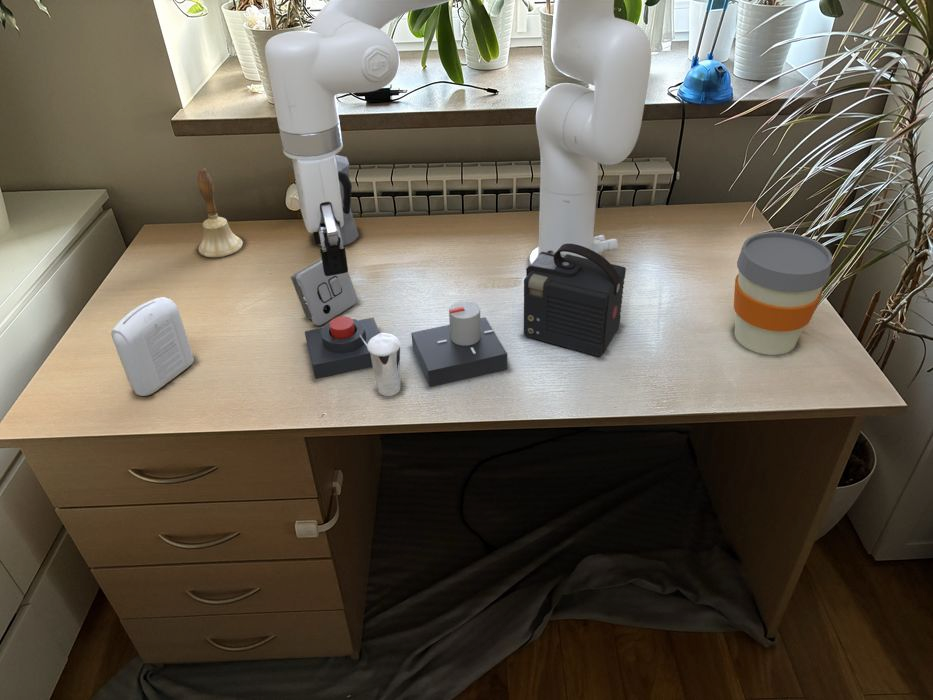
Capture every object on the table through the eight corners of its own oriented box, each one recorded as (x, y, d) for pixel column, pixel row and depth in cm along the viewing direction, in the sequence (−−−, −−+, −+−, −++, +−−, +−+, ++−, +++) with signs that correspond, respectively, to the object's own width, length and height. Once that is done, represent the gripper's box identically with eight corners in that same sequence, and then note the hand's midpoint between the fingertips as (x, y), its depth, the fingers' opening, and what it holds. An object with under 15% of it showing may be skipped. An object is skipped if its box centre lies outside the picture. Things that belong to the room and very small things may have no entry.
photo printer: (179, 353, 117) (157, 286, 109) (199, 361, 115) (178, 293, 108) (127, 392, 110) (99, 323, 102) (148, 400, 108) (121, 331, 100)
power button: (352, 323, 114) (351, 314, 113) (357, 336, 112) (355, 327, 111) (329, 328, 114) (327, 318, 113) (333, 341, 111) (331, 332, 110)
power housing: (375, 330, 120) (372, 307, 117) (387, 363, 113) (384, 339, 110) (307, 344, 117) (302, 321, 115) (315, 379, 111) (310, 355, 108)
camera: (544, 302, 125) (547, 221, 116) (624, 322, 119) (634, 239, 110) (517, 337, 117) (517, 253, 108) (602, 360, 112) (610, 274, 103)
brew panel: (485, 331, 119) (484, 314, 117) (507, 369, 111) (507, 352, 109) (411, 346, 116) (410, 330, 114) (429, 387, 108) (427, 370, 106)
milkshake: (368, 380, 110) (360, 325, 104) (404, 378, 110) (398, 322, 104) (367, 401, 106) (359, 345, 100) (405, 398, 106) (399, 342, 100)
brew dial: (475, 325, 115) (474, 296, 112) (485, 342, 111) (484, 312, 108) (446, 331, 114) (444, 302, 111) (455, 348, 110) (454, 319, 107)
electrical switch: (318, 329, 121) (305, 278, 116) (297, 320, 124) (284, 271, 119) (359, 303, 127) (348, 253, 121) (338, 295, 129) (327, 247, 124)
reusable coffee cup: (808, 369, 108) (835, 281, 99) (718, 353, 112) (737, 267, 103) (808, 321, 118) (833, 237, 109) (726, 308, 121) (743, 226, 112)
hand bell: (235, 232, 148) (216, 156, 138) (248, 249, 142) (229, 171, 133) (193, 244, 145) (171, 166, 135) (205, 262, 139) (183, 182, 129)
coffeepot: (298, 232, 147) (281, 144, 136) (340, 217, 152) (327, 131, 141) (336, 262, 137) (321, 170, 126) (380, 246, 142) (369, 156, 131)
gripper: (274, 119, 100) (296, 234, 111) (289, 169, 87) (313, 294, 97) (329, 111, 102) (346, 225, 112) (353, 159, 88) (369, 283, 99)
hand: (330, 257), depth 105 cm, fingers open, 8 cm apart
